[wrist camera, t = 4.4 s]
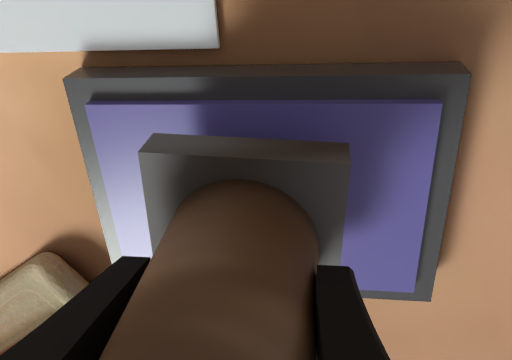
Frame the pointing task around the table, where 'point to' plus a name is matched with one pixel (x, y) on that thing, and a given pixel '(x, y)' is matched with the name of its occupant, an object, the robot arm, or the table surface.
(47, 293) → the wooden puzzle
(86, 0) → the card sheet
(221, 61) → the table surface
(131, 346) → the stamp
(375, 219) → the ink pad
